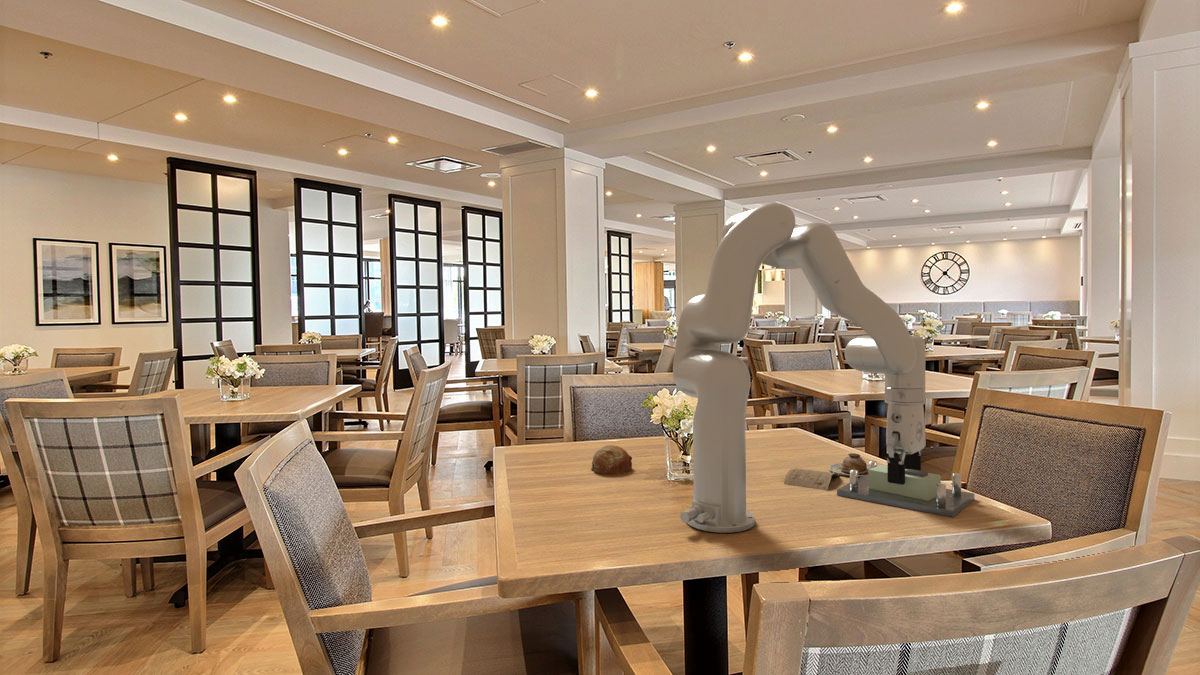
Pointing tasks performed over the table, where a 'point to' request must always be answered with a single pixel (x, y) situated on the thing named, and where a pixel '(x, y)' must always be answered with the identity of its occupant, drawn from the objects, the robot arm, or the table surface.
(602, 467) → the bread roll
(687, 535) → the table surface
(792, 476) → the curved roof tile
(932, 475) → the block
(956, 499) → the chassis
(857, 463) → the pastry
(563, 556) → the table surface
